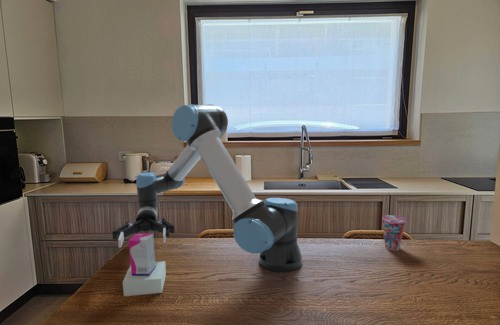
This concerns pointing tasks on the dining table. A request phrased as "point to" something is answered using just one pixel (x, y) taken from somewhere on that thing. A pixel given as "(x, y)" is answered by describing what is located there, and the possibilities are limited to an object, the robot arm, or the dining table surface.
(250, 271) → the dining table surface
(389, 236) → the cup
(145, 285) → the base block
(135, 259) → the supplement box
